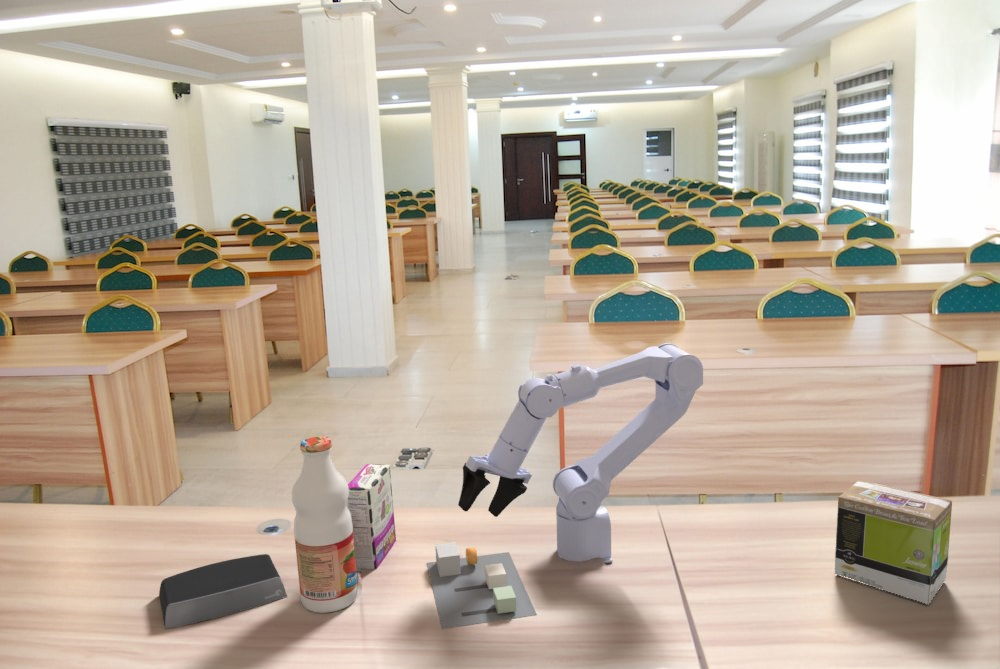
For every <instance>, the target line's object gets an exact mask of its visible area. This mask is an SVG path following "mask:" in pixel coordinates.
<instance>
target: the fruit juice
mask: <svg viewBox="0 0 1000 669" xmlns="http://www.w3.org/2000/svg"><path fill="white" fill-rule="evenodd" d="M299 447H300V453H301V454H302V455H303V457H302V458H303V460H302V466H301V471H300V474H299V476H298V477H297V479H296V480H295V482H294V484H293V486H292V489H291V501H292V505H293V508H294V509H295V517H294V520H293V535H294V536H293V537H294V544H295V555H296V565H297V572H298V573H297V574H298V584H299V593H300V601H301V604H302V606H303V607H304V608H305V609H306V610H307V611H310V612H313V613H321V614H326V613H333V612H336V611H337V612H339V611H341V610H343V609H345V608H347V607H349V606H351V605H352V604H353V603H354V601H355V600H356V599H357V596H358V590H359V589H358V577H357V572H356V562H355V549H354V537H353V524H352V517H351V513H350V511H349V509H348V507H347V502H348V497H349V488H348V484H349V483H348V482H347V480H346V478H345V477H344V476H343V475H342V474H341V472H339V471H338V470H337V469H336V466H335V464H334V461H333V459H332V458H333V457H332V455H331V451H332V449H333V444H332V438H330V437H328V436H323V435H320V436H319V435H317V436H311V437H310V436H309V437H307V438H305V439H303V440H301V441H300V444H299Z"/></svg>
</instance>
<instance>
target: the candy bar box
mask: <svg viewBox="0 0 1000 669" xmlns="http://www.w3.org/2000/svg"><path fill="white" fill-rule="evenodd" d="M391 477H392V476H391V464H381V463H380V464H379V463H375V464H374V463H366V464H365V465H364V466H363V467H362V468H361V469H360V471H358V473H357V474H356V475H355V476H354V477H353V478H352V479H351V480H350V482H349V483H347V484H348V488H349V497H348V502H347V507H348V509H349V511H350V513H351V517H352V524H353V537H354V549H355V562H356V573H357V572H361V573H362V569H366V570H377V569H378V568H379V566H380V565H381V564H382V562H383V561H384V559H385V558H386V557H387V555H388V553H389V552H390V551H391V549H392V548H393V546H394V545H395V543H396V541H397V537H396V524H395V512H394V502H393V501H394V500H393V490H392V478H391Z"/></svg>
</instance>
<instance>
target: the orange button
mask: <svg viewBox="0 0 1000 669" xmlns="http://www.w3.org/2000/svg"><path fill="white" fill-rule="evenodd" d="M477 556H478V551H477V548H476V546H475V547H467V548H465V558H466V560H467V564H468V565H470V564H477Z"/></svg>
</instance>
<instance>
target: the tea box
mask: <svg viewBox="0 0 1000 669" xmlns="http://www.w3.org/2000/svg"><path fill="white" fill-rule="evenodd" d="M837 499H838V500H837V514H836V515H837V516H836V517H837V518H836V534H835V535H836V537H835V552H834V554H835V555H834V558H835V560H834V575H835V574H837V575H841V576H843V577H844V576H845V577H848V578H851V579H854V580H856V581H860V582H863V583H865V584H868V585H871V586H873V587H876V588H875V589H877V588H880V589H883V590H886V591H888V592H887V593H889V592H891V593H890V594H893V593H895V594H894V595H896V594H898V595H897V596H899V595H901V596H900V597H902V596H904V597H903V598H905V597H906V598H905V599H908V598H911V599H914V600H913V601H915V600H917V601H916V602H918V601H920V602H919V603H921V602H922V604H924V603H925V604H924V605H927V604H929V603H930V604H931V603H932V601H933V599H934V598H935V597H936V595H937V594H938V592H939V591H938V589H939V588H940V587H941V585H942V584H943V582H944V581H945V582H946V578H947V572H948V561H949V547H950V536H951V524H952V522H951V521H952V512H953V511H952V510H953V509H952V507H953V500H950V499H947V498H942V497H937V496H934V495H929V494H925V493H921V492H915V491H912V490H907V489H902V488H898V487H894V486H889V485H885V484H880V483H876V482H872V481H868V480H867V481H866V480H862V479H859V480H857V481H856V482H855V483H854V484H853V485H851V486H850V487H849V488H848V489H847V490H846V491H844V492H843V493H842V494H840V495H839V496H838V498H837ZM943 585H944V584H943ZM873 587H872V588H873ZM941 588H942V587H941ZM941 588H940V589H941ZM880 589H879V590H880ZM883 590H882V591H883ZM886 591H885V592H886ZM937 591H938V592H937ZM936 593H937V594H936ZM935 594H936V595H935ZM907 597H908V598H907ZM933 597H934V598H933ZM911 599H910V600H911ZM931 600H932V601H931ZM930 604H929V605H930Z"/></svg>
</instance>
